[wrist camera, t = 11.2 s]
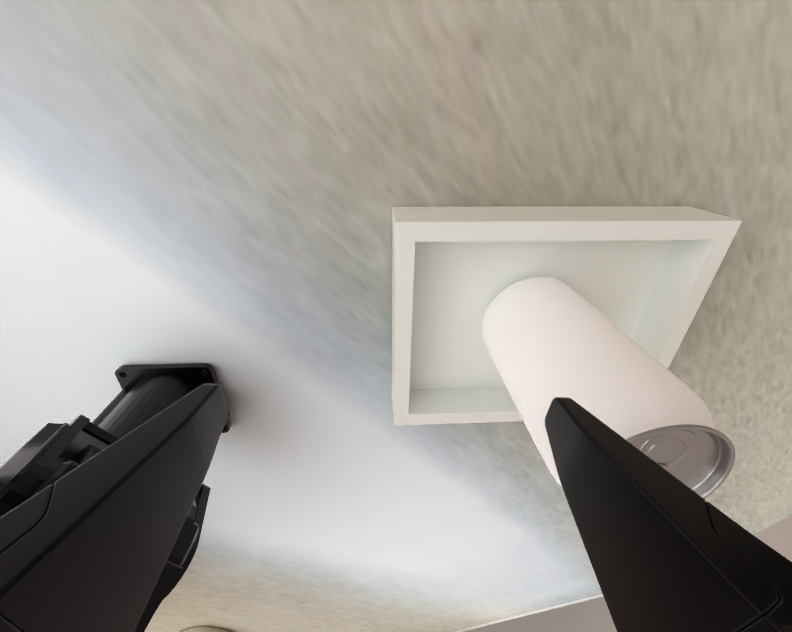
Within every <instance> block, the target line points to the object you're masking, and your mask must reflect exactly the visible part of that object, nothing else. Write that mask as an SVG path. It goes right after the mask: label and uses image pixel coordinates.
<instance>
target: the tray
mask: <svg viewBox="0 0 792 632" xmlns="http://www.w3.org/2000/svg"><path fill="white" fill-rule="evenodd" d="M741 222H742V220H738V219H734V218H731V217H727V216H723V215H720V214H716V213H712V212H709V211H705V210H701V209H698V208H694V207H690V206H473V207H392V390H391V391H392V407H393V423H394V426H398V425H426V424H455V423H483V422H512V421H523V419H522V417H521V415H520V413H519V411H518V409H517V407H516V405H515V403H514V401H513V399H512V397H511V395H510V393H509V391H508V389H507V387H506V385H505V383H504V381H503V379H502V377H501V375H500V373H499V371H498V369H497V367H496V365H495V363H494V361H493V359H492V357H491V355H490V353H489V351H488V349H487V346H486V344H485V342H484V339H483V336H482V321H483V317H484V314H485V312H486V310H487V308H488V306H489V305H490V303H491V302H492V301H493V299H494V298H495V297H496V296H497V295H498V294H499V293H500V292H502V291H503V290H504V289H506V288H507V287H509V286H510V285H512V284H514V283H516V282H519V281H522V280H525V279H529V278H537V277H549V278H554V279H557V280H560V281H561V282H563V283H565V284H566V285H568V286H569V287H570V288H571V289H573V290H574V291H575V292H576V293H578V294H579V295H580V296H581V297H583V298H584V299H585V300H586V301H587V302H589V303H590V304H591V305H592V306H593V307H595V308H596V309H597V310H598V311H599V312H601V313H602V314H603V315H604V316H605V317H607V318H608V319H609V320H610V321H611V322H612V323H614V324H615V325H616V326H617V327H618V328H620V329H621V330H622V331H623V332H624V333H626V334H627V335H628V336H629V337H630V338H632V339H633V340H634V341H635V342H636V343H637V344H639V345H640V346H641V347H642V348H643V349H645V350H646V351H647V352H648V353H649V354H650V355H652V356H653V357H654V358H655V359H656V360H658V361H659V362H660V363H661V364H662V365H663V366H665V367H666V368H667V369H668V368H669V366H670V364H671V362H672V360H673V358H674V356H675V354H676V352H677V350H678V348H679V346H680V344H681V342H682V340H683V338H684V336H685V334H686V332H687V330H688V328H689V326H690V324H691V322H692V320H693V318H694V316H695V314H696V312H697V310H698V308H699V306H700V304H701V302H702V300H703V298H704V296H705V294H706V292H707V290H708V288H709V286H710V284H711V282H712V280H713V278H714V276H715V274H716V272H717V270H718V268H719V266H720V264H721V262H722V260H723V258H724V256H725V254H726V252H727V250H728V248H729V246H730V244H731V242H732V240H733V238H734V236H735V234H736V232H737V230H738V228H739V226H740V224H741Z"/></svg>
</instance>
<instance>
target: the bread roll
mask: <svg viewBox="0 0 792 632" xmlns="http://www.w3.org/2000/svg"><path fill="white" fill-rule="evenodd" d="M182 632H230V631H227V630H225V629H220V628H214V627H208V626H199V627H192V628H189V629H186V630H184V631H182Z"/></svg>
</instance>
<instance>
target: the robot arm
mask: <svg viewBox="0 0 792 632" xmlns="http://www.w3.org/2000/svg"><path fill="white" fill-rule="evenodd" d="M204 370H206V371H207V372H205V371H204ZM125 373H126V374H125ZM115 375H116V377H117V379H118V381H119V383H120V385H121V387H122V389H123V390H122V391H121V392H120V393H119V394H118V396H117V397H116V398H115V399H114V400H113V401H112V402H111V403H110V404H109V405H108V406H107V407H106V408H105V409H104V410H103V412H102V413H101V414H100V415H99V416H98V417H97V418H96V419H95V420H94V421H93V422H92V423H91V422H90V419H88V418H86V417H85V416H83V415H80V416H78V417H77V418H76V419H75V420H74V421H72V422H71V423H70V424H67V423H66V424H65V423H64V424H53V423H48V424H47V425H46V426H45V427H44V428H42V429H41V430H40V431H39V432H38V433H37V434H36V435H35V436H34V437H33V438H32V439H30V440H29V441H28V442H27V443H26V444H25V445H24V446H23V447H22V448H21V449H20V450H19V451H18V452H17V453H15V454H14V455H13V456H12V457H11V458H10V459H9V460H8V461H7V462H6V463H5V464H4V465H3V466H2V467H1V468H0V632H144V631H145V629H146V627H147V626H148V624H149V622H150V620H151V618H152V616H153V615H154V613H155V611H156V610H157V608H158V606H159V605H160V603H161V602H162V600H163V599H164V598H165V597H166V596H167V595H168V594H169V593H170V592H171V591H172V590H173V588H174V587H175V586H176V585H177V583H178V582H179V580H180V579H181V578H182V576H183V574H184V573H185V571H186V570H187V568H188V566H189V564H190V562H191V560H192V558H193V556H194V554H195V551H196V549H197V546H198V542H199V538H200V534H201V529H202V524H203V520H204V515H205V511H206V506H207V502H208V497H209V492H210V488H209V487H207V486H206V485H204V484H202V483H203V480H204V478H205V476H206V474H207V471H208V469H209V466H210V463H211V461H212V458H213V455H214V452H215V449H216V446H217V443H218V440H219V437H220V434H221V433H225V432H228V431H229V429H230V427H231V422H230V419H229V416H230V414H229V411H228V407H227V402H226V399H225V395H224V391H223V388H222V386H221V385H220V384H218V381H217V378H216V375H215V372H214V369H213V367H212V366H211V365H209V364H166V365H126V366H121V367H119V368H118V369H117V370H116V371H115ZM545 428H546V431H547V435H548V439H549V443H550V446H551V450H552V454H553V458H554V462H555V465H556V469H557V473H558V476H559V479H560V482H561V485H562V488H563V490H564V493H565V496H566V498H567V501H568V504H569V506H570V509H571V511H572V514H573V517H574V519H575V522H576V525H577V527H578V530H579V532H580V535H581V538H582V540H583V543H584V546H585V548H586V551H587V553H588V556H589V559H590V561H591V564H592V567H593V569H594V572H595V574H596V577H597V580H598V582H599V585H600V588H601V590H602V593H603V595H604V598H605V601H606V603H607V606H608V609H609V611H610V614H611V616H612V619H613V622H614V624H615V627H616V630H617V632H792V562H791V561H789V560H788V559H786V558H785V557H783V556H782V555H781V554H779V553H778V552H776V551H775V550H774V549H772V548H771V547H769V546H768V545H766V544H765V543H763V542H762V541H761V540H759V539H758V538H756V537H755V536H754V535H752V534H751V533H749V532H748V531H747V530H745V529H744V528H743V527H741V526H740V525H739V524H737V523H736V522H734V521H733V520H732V519H730V518H729V517H728V516H726V515H725V514H724V513H722V512H721V511H720V510H718V509H717V508H716V507H714V506H713V505H712V504H710V503H709V502H705V500H704V498H702V497H701V496H700V495H698V494H697V493H696V492H694V491H693V490H692V489H690V488H689V487H688V486H686V485H685V484H684V483H682V482H681V481H680V480H679V479H677V478H676V477H675V476H673V475H672V474H671V473H669V472H668V471H667V470H665V469H664V468H663V467H661V466H660V465H659V464H657V463H656V462H655V461H653V460H652V459H651V458H649V457H648V456H647V455H645V454H644V453H643V452H641V451H640V450H639V449H637V448H636V447H635V446H633V445H632V444H631V443H630V442H628V441H627V440H626V439H624V438H623V437H622V436H620V435H619V434H618V433H616V432H615V431H614V430H612V429H611V428H610V427H608V426H607V425H606V424H604V423H603V422H602V421H600V420H599V419H598V418H596V417H595V416H594V415H592V414H591V413H590V412H588V411H587V410H586V409H584V408H583V407H582V406H581V405H579V404H578V403H577V402H575V401H574V400H572V399H571V398H568V397H555V398H554V399H553V400H552V402H551V404H550V407H549V409H548V412H547V414H546V417H545Z"/></svg>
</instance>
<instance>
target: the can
mask: <svg viewBox="0 0 792 632" xmlns="http://www.w3.org/2000/svg"><path fill="white" fill-rule="evenodd" d="M482 336H483V339H484V342H485V344H486V346H487V349H488V351H489V353H490V355H491V357H492V359H493V361H494V363H495V365H496V367H497V369H498V371H499V373H500V375H501V377H502V379H503V381H504V383H505V385H506V387H507V389H508V391H509V393H510V395H511V397H512V399H513V401H514V403H515V405H516V407H517V409H518V411H519V413H520V415H521V417H522V419H523V421H524V423H525V425H526V427H527V429H528V431H529V433H530V435H531V437H532V439H533V441H534V443H535V445H536V447H537V448H538V450H539V452H540V454H541V456H542V458H543V460H544V462H545V464H546V466H547V467H548V469H549V471H550V473H551V474H552V476H553V477H554V479H555V480H556V481H557V482H558V483H559V484H560V485H561V482H560V479H559V476H558V473H557V469H556V465H555V462H554V458H553V454H552V450H551V446H550V443H549V439H548V435H547V431H546V428H545V417H546V414H547V412H548V409H549V407H550V404H551V402H552V400H553V399H554V398H555V397H568V398H571V399H572V400H574V401H575V402H577V403H578V404H579V405H581V406H582V407H583V408H584V409H586V410H587V411H588V412H590V413H591V414H592V415H594V416H595V417H596V418H598V419H599V420H600V421H602V422H603V423H604V424H606V425H607V426H608V427H610V428H611V429H612V430H614V431H615V432H616V433H618V434H619V435H620V436H622V437H623V438H624V439H626V440H627V441H628V442H630V443H631V444H632V445H633V446H635V447H636V448H637V449H639V450H640V451H641V452H643V453H644V454H645V455H647V456H648V457H649V458H651V459H652V460H653V461H655V462H656V463H657V464H659V465H660V466H661V467H663V468H664V469H665V470H667V471H668V472H669V473H671V474H672V475H673V476H675V477H676V478H677V479H679V480H680V481H681V482H682V483H684V484H685V485H686V486H688V487H689V488H690V489H692V490H693V491H694V492H696V493H697V494H698V495H700V496H701V497H702V498H706V497H707V496H709V495H710V494H711V493H712V492H714V491H715V490H716V489H717V488H718V487H719V486H720V485H721V484H722V483H723V482H724V480H725V479H726V478H727V476H728V475H729V473H730V471H731V470H732V467H733V465H734V461H735V449H734V446H733V444H732V442H731V441H730V439H729V438H728V437H727V436H726V435H724V434H723V433H721V432H720V431H718V430H717V429H716V426H715V423H714V421H713V418H712V416H711V413H710V411H709V409H708V408H707V406H706V404H705V403H704V402H703V401H702V400H701V399H700V397H699V396H698V395H697V394H696V393H694V392H693V391H692V390H691V389H690V388H689V387H688V386H687V385H686V384H684V383H683V382H682V381H681V380H680V379H679V378H677V377H676V376H675V375H674V374H673V373H672V372H670V371H669V370H668V369H667V368H666V367H665V366H663V365H662V364H661V363H660V362H659V361H658V360H656V359H655V358H654V357H653V356H652V355H650V354H649V353H648V352H647V351H646V350H645V349H643V348H642V347H641V346H640V345H639V344H637V343H636V342H635V341H634V340H633V339H632V338H630V337H629V336H628V335H627V334H626V333H624V332H623V331H622V330H621V329H620V328H618V327H617V326H616V325H615V324H614V323H612V322H611V321H610V320H609V319H608V318H607V317H605V316H604V315H603V314H602V313H601V312H599V311H598V310H597V309H596V308H595V307H593V306H592V305H591V304H590V303H589V302H587V301H586V300H585V299H584V298H583V297H581V296H580V295H579V294H578V293H576V292H575V291H574V290H573V289H571V288H570V287H569V286H568V285H566V284H565V283H563V282H561V281H560V280H557V279H554V278H549V277H537V278H529V279H525V280H522V281H519V282H516V283H514V284H512V285H510V286H509V287H507V288H506V289H504V290H503V291H502V292H500V293H499V294H498V295H497V296H496V297H495V298H494V299H493V301H492V302H491V303H490V305H489V306H488V308H487V310H486V312H485V314H484V317H483V321H482ZM561 486H562V485H561Z"/></svg>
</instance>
